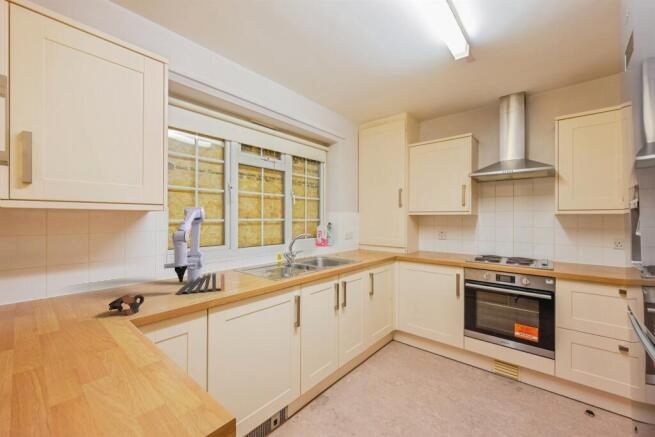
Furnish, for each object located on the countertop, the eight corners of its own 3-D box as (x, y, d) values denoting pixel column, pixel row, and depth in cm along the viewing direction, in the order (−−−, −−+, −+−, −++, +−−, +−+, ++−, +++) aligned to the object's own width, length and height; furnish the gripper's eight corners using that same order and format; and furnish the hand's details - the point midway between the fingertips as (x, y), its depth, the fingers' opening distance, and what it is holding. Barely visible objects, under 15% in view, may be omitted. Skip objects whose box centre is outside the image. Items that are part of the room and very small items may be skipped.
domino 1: (178, 289, 142) (192, 278, 144) (181, 292, 142) (195, 280, 145) (177, 292, 137) (192, 280, 140) (179, 294, 138) (194, 282, 140)
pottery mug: (121, 320, 106) (109, 301, 106) (113, 325, 111) (102, 308, 111) (152, 303, 116) (142, 286, 117) (143, 309, 122) (133, 293, 122)
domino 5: (212, 289, 148) (212, 273, 148) (215, 289, 148) (215, 273, 148) (212, 291, 143) (212, 275, 143) (215, 291, 144) (215, 275, 144)
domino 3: (195, 289, 145) (204, 274, 146) (198, 290, 145) (207, 275, 147) (194, 291, 140) (203, 276, 141) (198, 293, 141) (206, 277, 142)
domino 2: (187, 289, 143) (199, 276, 145) (190, 291, 144) (201, 278, 146) (186, 292, 139) (198, 278, 141) (189, 294, 139) (201, 280, 141)
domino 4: (203, 289, 146) (207, 273, 147) (207, 289, 147) (211, 273, 147) (203, 291, 142) (207, 275, 142) (206, 292, 142) (210, 275, 143)
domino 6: (221, 288, 149) (220, 272, 149) (224, 288, 150) (224, 272, 150) (221, 291, 145) (220, 274, 144) (224, 290, 145) (224, 274, 145)
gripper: (162, 256, 134) (163, 284, 134) (196, 254, 139) (196, 282, 139) (165, 254, 140) (165, 281, 140) (197, 253, 145) (197, 279, 146)
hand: (181, 281), depth 140 cm, fingers closed
